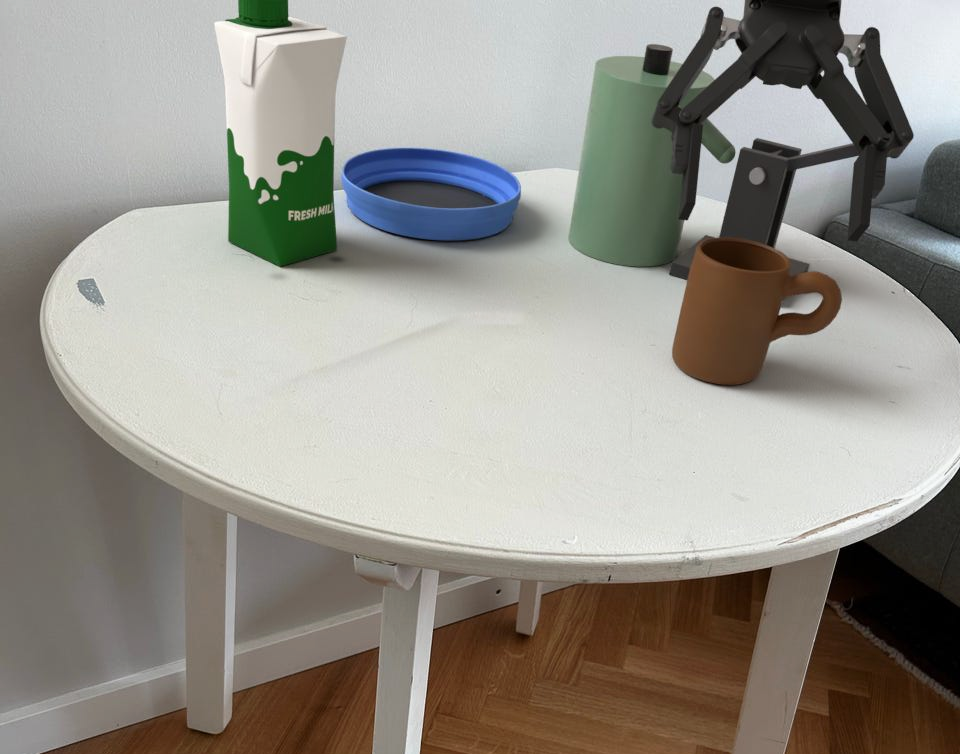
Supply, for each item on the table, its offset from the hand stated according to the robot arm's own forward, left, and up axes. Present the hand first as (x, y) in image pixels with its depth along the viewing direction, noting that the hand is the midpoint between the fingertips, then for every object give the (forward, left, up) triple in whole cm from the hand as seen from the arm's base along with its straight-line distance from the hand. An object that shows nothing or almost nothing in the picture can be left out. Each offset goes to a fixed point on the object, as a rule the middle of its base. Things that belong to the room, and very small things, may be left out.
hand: (772, 223), depth 87 cm
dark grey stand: (+6, -18, -11) cm, 22 cm away
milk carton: (+42, +7, -11) cm, 44 cm away
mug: (-1, +3, -11) cm, 12 cm away
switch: (+1, -18, 0) cm, 18 cm away
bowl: (+37, -11, -11) cm, 40 cm away
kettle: (+16, -17, -11) cm, 26 cm away
